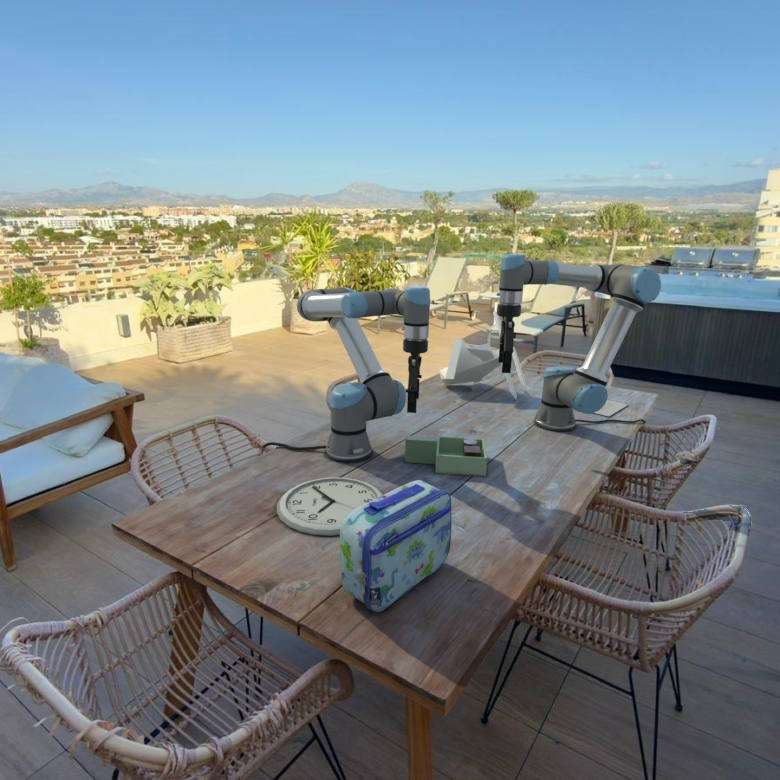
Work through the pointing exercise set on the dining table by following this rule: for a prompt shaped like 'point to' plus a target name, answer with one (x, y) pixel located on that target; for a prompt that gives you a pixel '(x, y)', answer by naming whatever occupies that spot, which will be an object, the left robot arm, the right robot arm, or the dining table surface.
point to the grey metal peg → (469, 443)
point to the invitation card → (610, 408)
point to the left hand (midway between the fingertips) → (413, 405)
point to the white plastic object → (478, 363)
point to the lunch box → (394, 543)
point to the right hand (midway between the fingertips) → (504, 367)
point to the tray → (446, 455)
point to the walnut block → (472, 451)
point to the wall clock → (323, 504)
